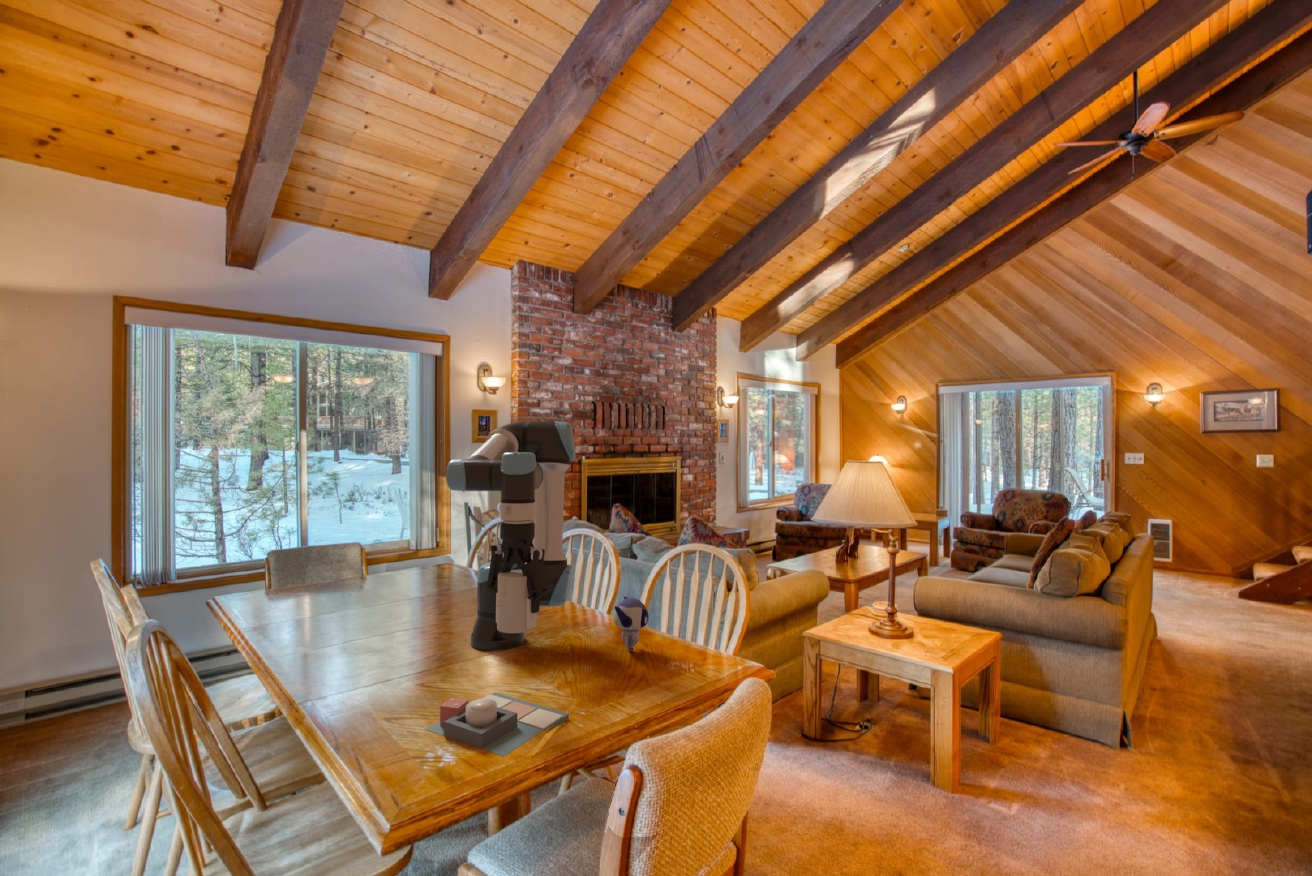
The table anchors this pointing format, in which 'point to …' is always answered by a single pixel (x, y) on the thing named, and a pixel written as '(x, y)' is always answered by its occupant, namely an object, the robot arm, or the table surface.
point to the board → (502, 725)
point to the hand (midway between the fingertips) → (516, 624)
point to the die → (451, 709)
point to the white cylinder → (512, 602)
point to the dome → (481, 712)
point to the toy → (630, 620)
